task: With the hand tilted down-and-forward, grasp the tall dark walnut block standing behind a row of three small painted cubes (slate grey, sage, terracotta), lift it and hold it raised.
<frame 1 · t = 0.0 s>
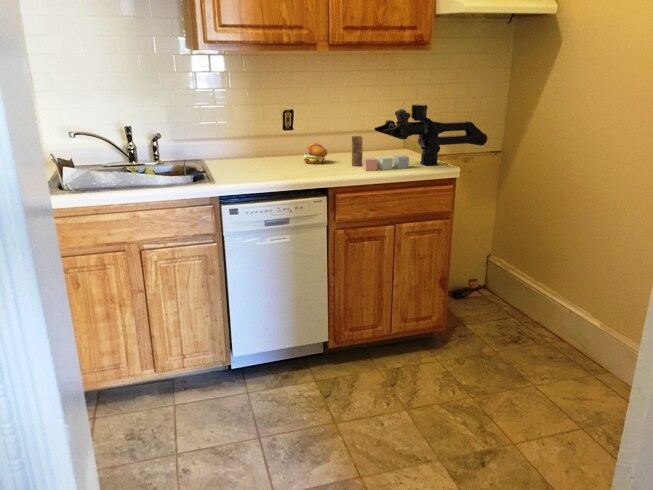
hand: (378, 130, 238), 17 cm above the worktop, fingers open, 9 cm apart
terracotta cube: (369, 169, 241), on the worktop
walnut block: (356, 165, 250), on the worktop
cheeseburger: (315, 163, 258), on the worktop
slate cube: (401, 167, 245), on the worktop
sage cube: (384, 168, 243), on the worktop
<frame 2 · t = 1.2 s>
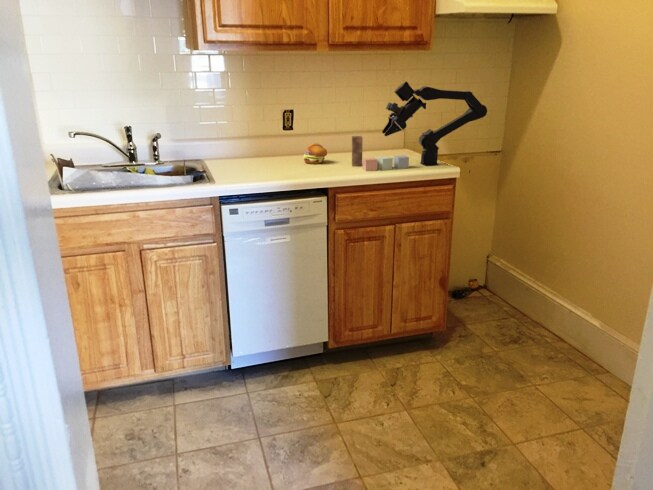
hand: (383, 134, 246), 14 cm above the worktop, fingers open, 9 cm apart
nothing on the worktop moved.
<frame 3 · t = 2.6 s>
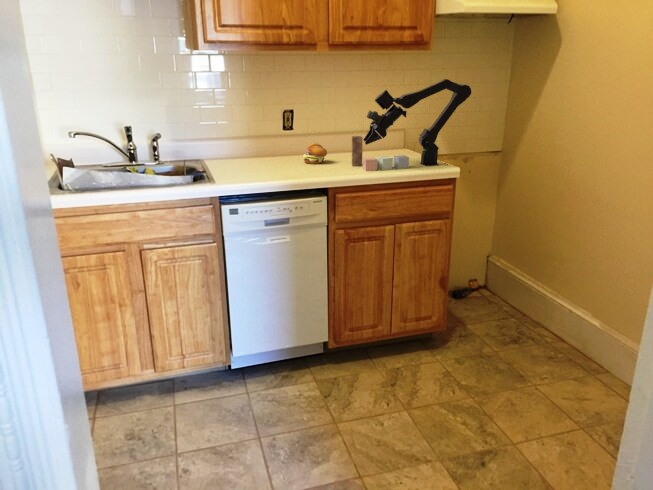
hand: (364, 142, 247), 10 cm above the worktop, fingers open, 9 cm apart
nothing on the worktop moved.
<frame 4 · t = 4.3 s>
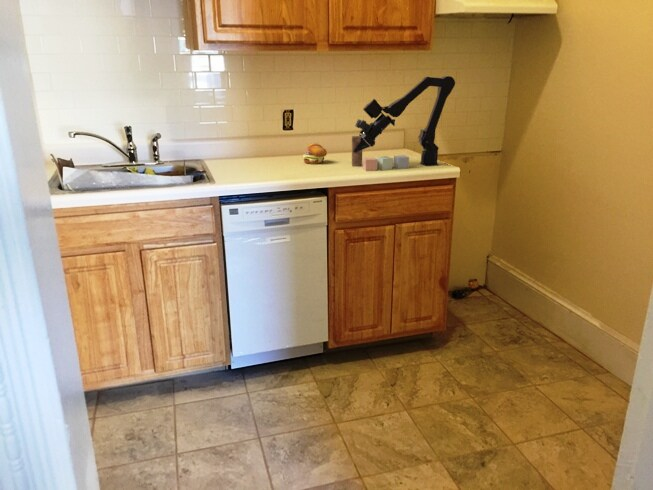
hand: (353, 150, 248), 7 cm above the worktop, fingers closed on walnut block, 4 cm apart
walnut block: (356, 165, 250), on the worktop, touching gripper
everything else where it was.
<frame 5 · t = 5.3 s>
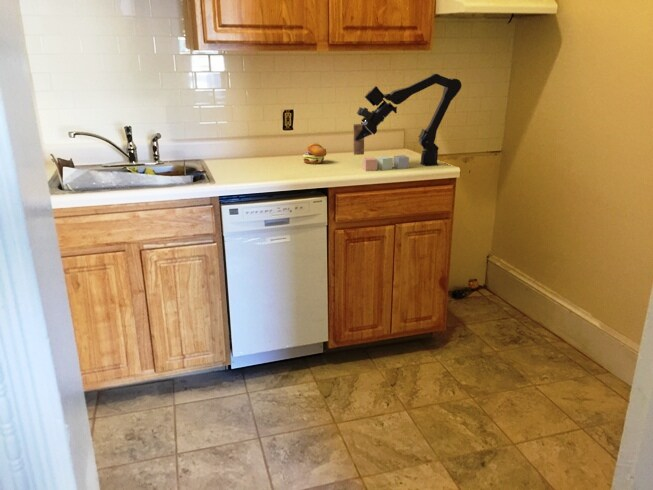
hand: (355, 139, 246), 12 cm above the worktop, fingers closed on walnut block, 4 cm apart
walnut block: (358, 153, 249), point 5 cm above the worktop, touching gripper
everything else where it was.
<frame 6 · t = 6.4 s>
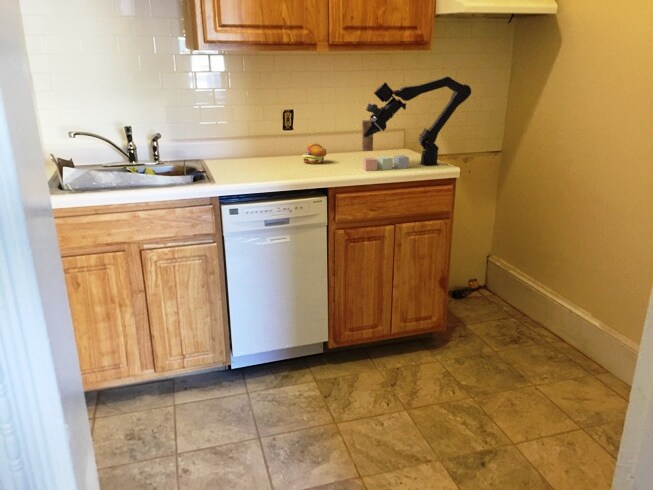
hand: (364, 135, 246), 13 cm above the worktop, fingers closed on walnut block, 4 cm apart
walnut block: (367, 150, 248), point 7 cm above the worktop, touching gripper
everything else where it was.
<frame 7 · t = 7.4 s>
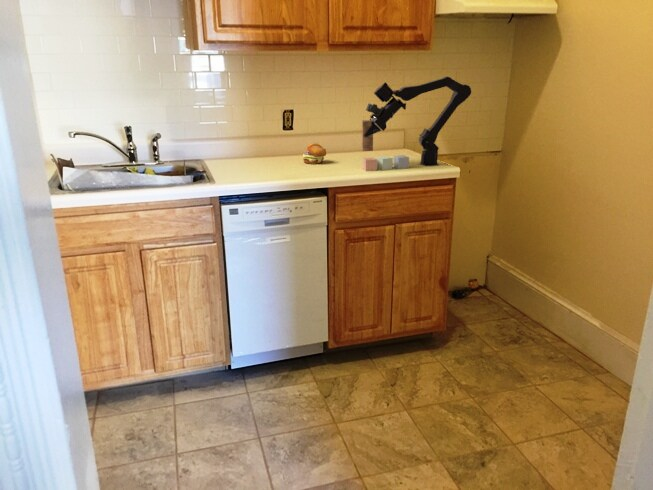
hand: (364, 135, 246), 13 cm above the worktop, fingers closed on walnut block, 4 cm apart
walnut block: (367, 150, 248), point 7 cm above the worktop, touching gripper
everything else where it was.
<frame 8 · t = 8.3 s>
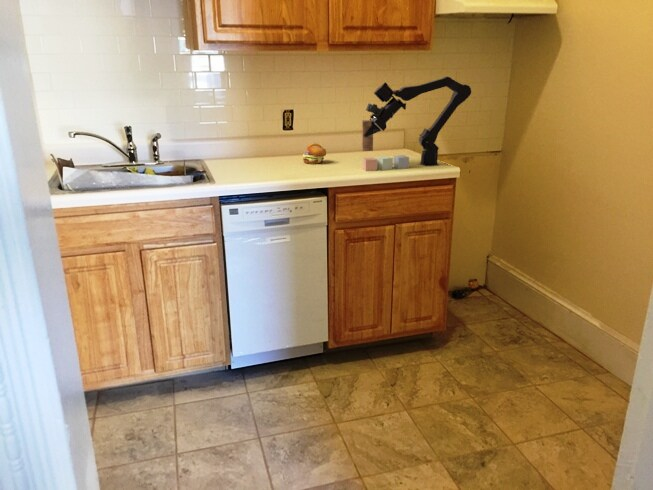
hand: (364, 135, 246), 13 cm above the worktop, fingers closed on walnut block, 4 cm apart
walnut block: (367, 150, 248), point 7 cm above the worktop, touching gripper
everything else where it was.
at the end: the gripper is holding walnut block; walnut block point 6.9 cm above the worktop; terracotta cube moved 0.1 cm from its start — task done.
